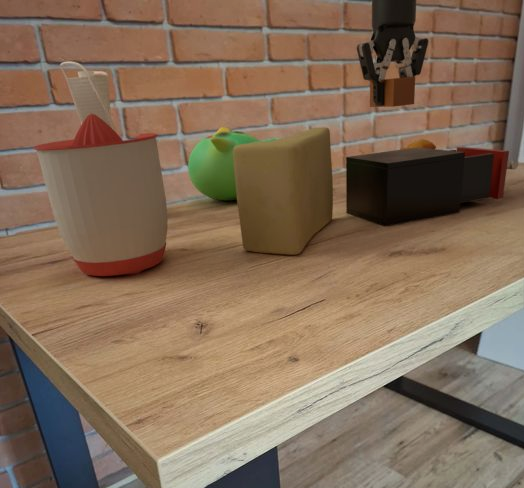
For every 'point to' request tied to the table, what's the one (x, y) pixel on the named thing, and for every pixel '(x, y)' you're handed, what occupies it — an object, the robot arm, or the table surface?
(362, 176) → the cabinet
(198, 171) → the toy bird
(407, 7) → the robot arm
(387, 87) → the brown block
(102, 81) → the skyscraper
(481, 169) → the drawer
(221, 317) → the table surface
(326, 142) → the cheese
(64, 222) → the citrus juicer
